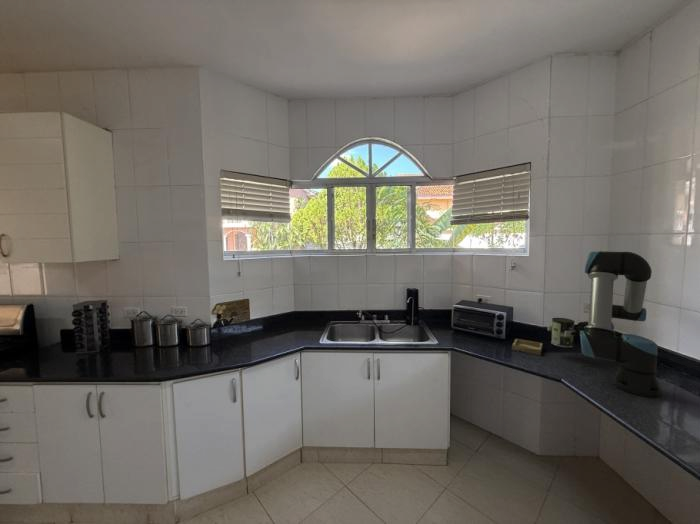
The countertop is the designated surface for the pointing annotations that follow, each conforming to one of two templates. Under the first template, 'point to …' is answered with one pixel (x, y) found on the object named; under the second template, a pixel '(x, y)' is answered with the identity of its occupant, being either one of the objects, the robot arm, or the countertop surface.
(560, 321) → the coffee can
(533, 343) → the oak bay tray
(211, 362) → the countertop surface
